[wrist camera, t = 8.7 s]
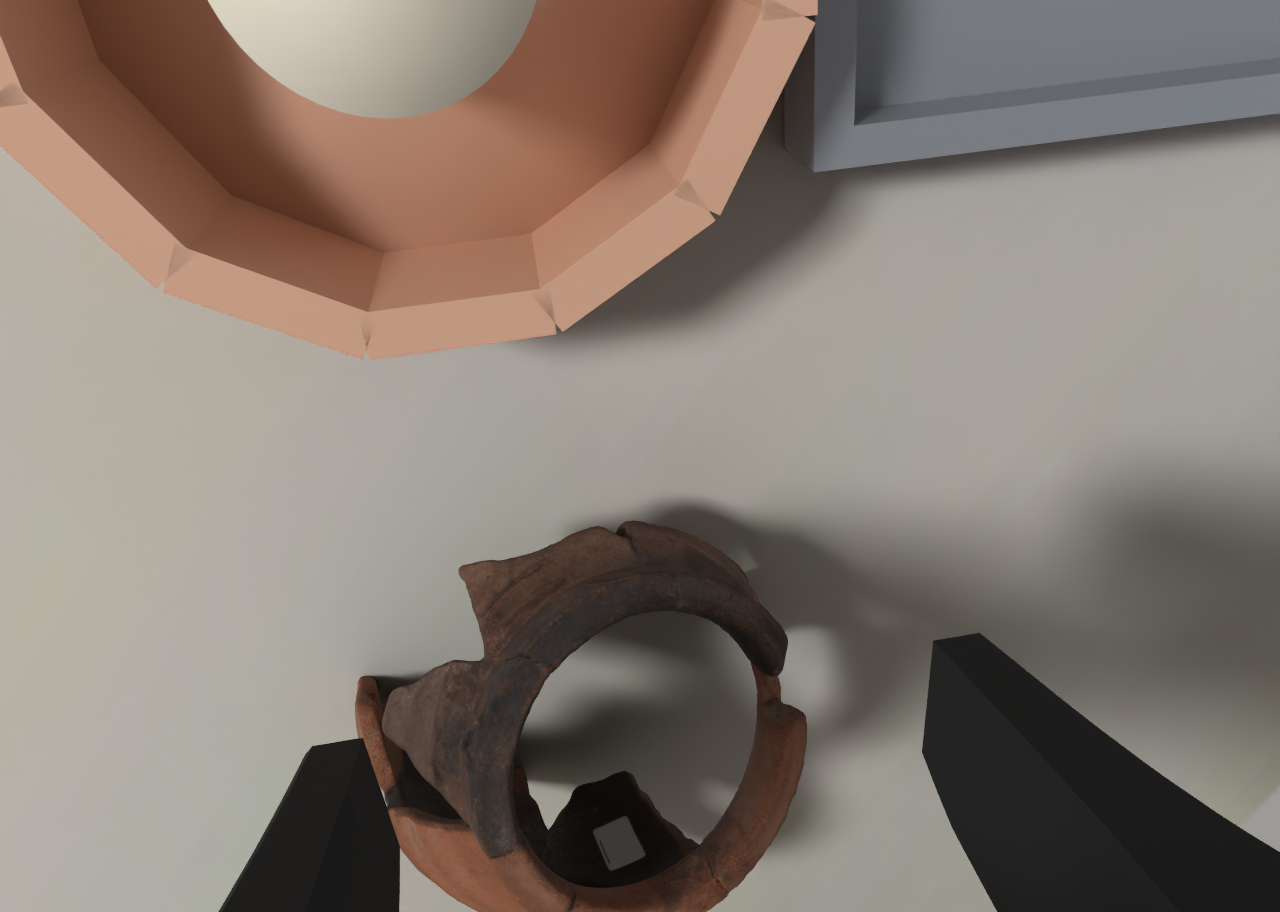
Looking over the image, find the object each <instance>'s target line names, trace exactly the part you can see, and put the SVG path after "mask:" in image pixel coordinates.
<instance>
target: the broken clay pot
mask: <svg viewBox="0 0 1280 912" xmlns="http://www.w3.org/2000/svg"><path fill="white" fill-rule="evenodd" d="M459 575H460V577H461V578H462V580H464V581H465V583H466V587H467V590H468V593H469V596H470V598H471V602H472V607H473V611H474V613H475V615H476V618H477V620H478V623H479V628H480V632H481V635H482V639H483V643H484V654H485V655H484V658H483V659H481V660H480V661H463V660H453V661H450V662H447V663H445V664H443V665H441V666H438V667H436V668H434V669H432V670H431V671H429V672H428V673H426V674H425V675H424V676H423V677H421V678H420V679H419V680H418V681H417V682H415V683H413V684H409V685H405V686H401V687H398V688H396V689H394V690H393V691H392V692H391V694H390V695H389V697H388V701H387V704H386V708H385V711H384V709H383V706H382V703H381V700H380V696H379V693H378V688H377V684H376V681H375V679H374V678H373V677H372V676H363V677H361V678H360V679H359V681H358V691H357V696H356V702H355V716H356V726H357V733H358V738H363V739H364V742H365V745H366V748H367V751H368V754H369V757H370V760H371V763H372V766H373V769H374V772H375V774H376V777H377V780H378V783H379V786H380V787H381V789H382V790H383V791H384V794H385V801H386V803H387V810H388V813H389V815H390V818H391V821H392V824H393V827H394V830H395V833H396V836H397V839H398V842H399V845H400V848H401V850H402V851H403V853H404V854H405V855H406V856H407V857H408V859H409V860H410V861H411V862H412V863H413V865H414V866H415V867H416V868H417V869H418V870H419V871H420V872H421V873H422V874H424V875H425V876H426V877H427V878H429V879H430V880H431V881H433V882H434V883H435V884H436V885H438V886H439V887H440V888H441V889H442V890H444V891H445V892H446V893H447V894H449V895H450V896H452V897H453V898H454V899H456V900H457V901H459V902H461V903H463V904H465V905H467V906H468V907H470V908H472V909H474V910H476V911H478V912H706V911H708V910H710V909H711V908H712V907H714V906H715V905H716V904H718V903H719V902H721V901H722V900H724V899H725V898H726V897H727V895H728V893H729V892H730V891H731V890H732V889H734V888H735V887H737V886H738V885H739V884H740V883H741V882H742V881H743V879H744V878H745V877H746V875H747V874H748V873H749V872H750V871H751V870H752V869H753V868H754V867H755V865H756V863H757V862H758V861H759V860H760V858H761V857H762V856H763V854H764V852H765V851H766V849H767V848H768V847H769V846H770V844H771V843H772V841H773V839H774V838H775V836H776V835H777V833H778V831H779V829H780V827H781V825H782V823H783V822H784V820H785V818H786V816H787V813H788V809H789V806H790V803H791V801H792V798H793V797H794V795H795V793H796V790H797V785H798V782H799V779H800V776H801V772H802V768H803V764H804V755H805V748H806V738H807V723H806V716H805V714H804V713H803V712H801V711H800V710H798V709H797V708H794V707H792V706H790V705H787V704H783V703H782V702H781V687H780V682H779V678H778V675H779V674H780V673H781V671H782V670H783V667H784V662H785V655H786V651H787V645H788V639H787V635H786V634H785V632H784V630H783V628H782V627H781V626H780V624H779V623H778V622H777V621H776V620H775V619H774V618H773V617H772V616H771V614H770V613H769V612H768V611H767V610H766V609H765V608H764V607H763V606H762V605H761V604H760V602H759V600H758V598H757V596H756V594H755V592H754V591H753V590H752V589H751V588H750V587H749V584H748V580H747V577H746V575H745V573H744V572H743V570H742V569H741V568H740V566H739V565H738V564H737V563H735V562H734V561H733V560H731V559H730V558H729V557H728V556H726V555H725V554H724V553H722V552H721V551H719V550H717V549H715V548H714V547H712V546H711V545H709V544H707V543H706V542H704V541H701V540H699V539H698V538H696V537H694V536H692V535H689V534H687V533H684V532H680V531H678V530H675V529H672V528H667V527H661V526H657V525H653V524H648V523H645V522H639V521H628V522H625V523H623V524H622V525H621V526H620V527H619V528H618V530H617V532H616V533H613V532H611V531H609V530H608V529H606V528H603V527H598V526H596V527H591V528H588V529H585V530H582V531H579V532H576V533H573V534H571V535H569V536H567V537H565V538H564V539H562V540H561V541H559V542H557V543H555V544H552V545H549V546H548V547H546V548H544V549H541V550H539V551H536V552H533V553H530V554H527V555H523V556H519V557H515V558H510V559H506V560H501V561H496V560H487V561H480V562H475V563H472V564H468V565H463V566H461V567H460V568H459ZM657 611H675V612H682V613H688V614H693V615H697V616H700V617H703V618H706V619H708V620H711V621H712V622H714V623H716V624H718V625H719V626H720V627H721V628H722V629H723V630H724V631H726V632H727V633H728V634H729V635H730V636H731V637H732V638H733V639H734V640H735V641H736V642H737V643H738V645H739V646H740V648H741V649H742V650H743V652H744V653H745V655H746V656H747V658H748V659H749V660H750V661H751V665H752V669H753V672H754V676H755V680H756V685H757V691H758V693H757V723H756V733H755V738H754V744H753V748H752V751H751V754H750V758H749V763H748V765H747V769H746V772H745V774H744V777H743V780H742V782H741V784H740V786H739V788H738V790H737V792H736V794H735V796H734V798H733V800H732V801H731V803H730V805H729V807H728V808H727V810H726V812H725V813H724V815H723V816H722V818H721V820H720V821H719V822H718V824H717V825H716V826H715V828H714V829H713V830H712V831H711V832H710V834H709V835H708V836H707V837H706V838H705V839H704V840H703V841H702V843H701V844H700V845H698V843H696V842H694V841H693V840H691V839H688V838H686V837H685V836H684V835H683V833H682V832H681V831H680V830H679V829H678V828H677V827H676V826H675V825H674V824H672V823H670V822H668V821H667V820H665V819H664V818H662V816H661V815H660V813H659V812H658V810H657V809H656V808H655V807H654V805H653V803H652V801H651V800H650V798H649V796H648V795H647V794H646V793H644V792H643V791H641V790H640V789H639V787H638V785H637V783H636V780H635V778H634V776H633V775H632V774H631V773H629V772H627V771H622V772H619V773H616V774H613V775H611V776H609V777H607V778H605V779H603V780H600V781H597V782H592V783H587V784H583V785H580V786H578V787H577V788H576V789H575V790H574V791H573V793H572V796H571V798H570V800H569V802H568V804H567V805H566V806H565V807H564V808H563V809H562V811H561V812H560V813H559V815H558V816H557V818H556V820H555V822H554V823H553V825H552V826H551V828H550V829H549V830H548V829H547V827H546V826H545V824H544V821H543V819H542V816H541V813H540V810H539V807H538V805H537V803H536V801H535V800H534V799H533V798H532V797H531V796H530V794H529V788H528V783H527V778H526V774H525V771H524V770H523V769H522V768H521V767H514V763H515V758H516V752H517V749H518V744H519V740H520V736H521V732H522V729H523V726H524V723H525V721H526V718H527V716H528V714H529V712H530V710H531V707H532V705H533V702H534V701H535V699H536V697H537V696H538V694H539V692H540V690H541V688H542V686H543V684H544V682H545V680H546V679H547V678H548V677H549V675H550V674H551V673H552V672H553V671H554V670H556V669H557V668H558V667H559V666H560V664H561V663H562V662H563V661H564V660H565V659H566V658H567V657H568V656H569V655H570V654H571V653H573V652H574V651H576V650H577V649H578V648H579V647H580V646H581V645H583V644H584V643H585V642H587V641H588V640H589V639H590V638H591V637H593V636H594V635H596V634H597V633H599V632H600V631H602V630H603V629H605V628H607V627H609V626H610V625H612V624H615V623H617V622H619V621H621V620H622V619H624V618H627V617H630V616H635V615H639V614H643V613H649V612H657Z"/></svg>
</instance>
